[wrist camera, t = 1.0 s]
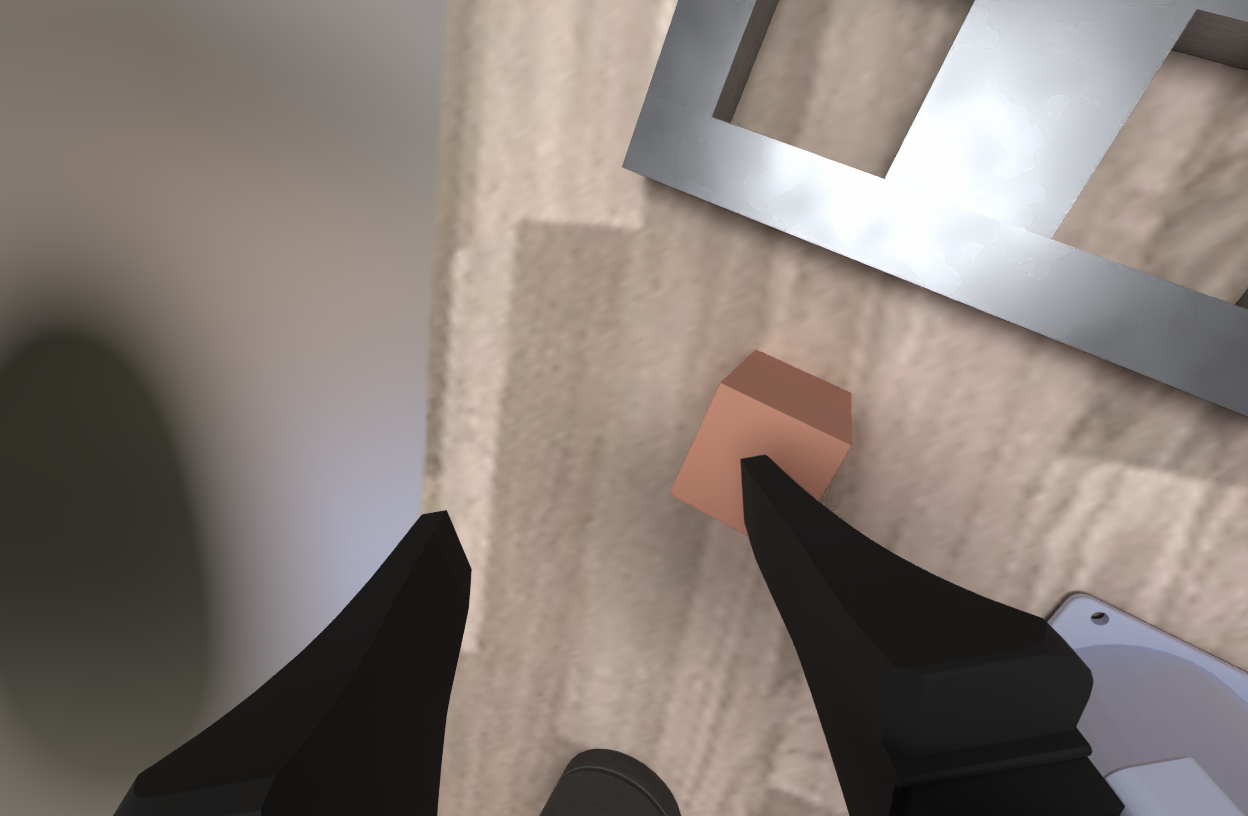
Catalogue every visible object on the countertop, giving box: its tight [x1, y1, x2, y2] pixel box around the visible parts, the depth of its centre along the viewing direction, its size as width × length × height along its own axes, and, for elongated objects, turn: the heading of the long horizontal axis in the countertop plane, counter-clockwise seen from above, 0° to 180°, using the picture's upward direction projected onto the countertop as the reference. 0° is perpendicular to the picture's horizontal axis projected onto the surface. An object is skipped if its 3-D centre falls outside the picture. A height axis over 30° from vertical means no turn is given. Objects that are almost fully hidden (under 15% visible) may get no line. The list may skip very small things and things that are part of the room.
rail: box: [622, 0, 1248, 417], centre depth 17 cm, size 22×11×2 cm, turn 69°
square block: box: [669, 350, 851, 537], centre depth 20 cm, size 4×4×7 cm
